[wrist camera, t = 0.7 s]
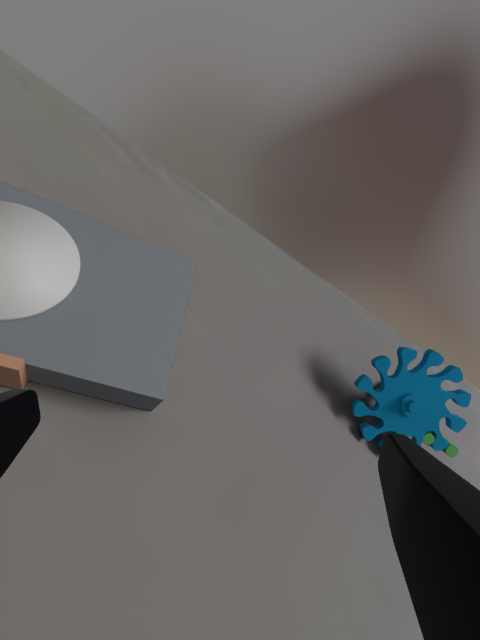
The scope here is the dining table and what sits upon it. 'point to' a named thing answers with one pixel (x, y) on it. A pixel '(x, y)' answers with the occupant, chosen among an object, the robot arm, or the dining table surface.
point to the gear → (412, 400)
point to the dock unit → (86, 303)
